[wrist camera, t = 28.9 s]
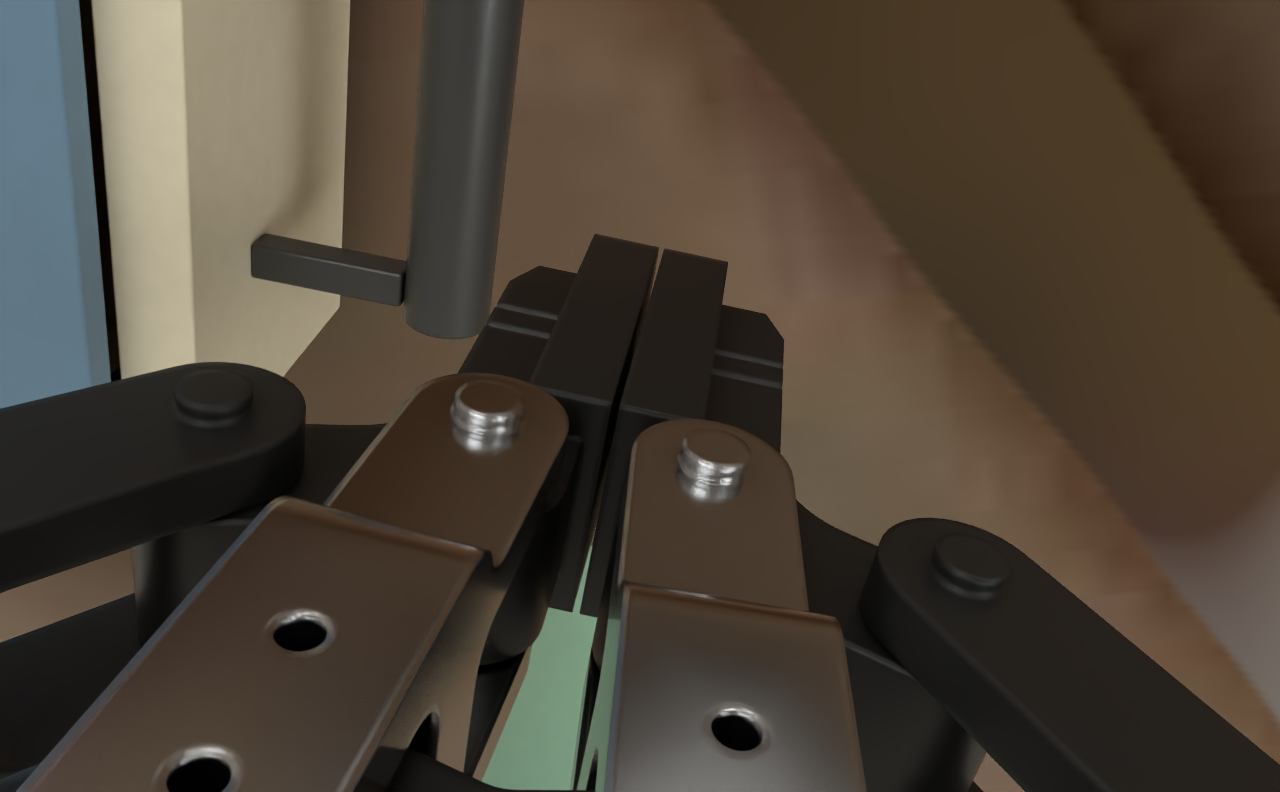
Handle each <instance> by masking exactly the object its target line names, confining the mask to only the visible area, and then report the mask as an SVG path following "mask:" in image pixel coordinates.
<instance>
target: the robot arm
mask: <svg viewBox="0 0 1280 792" xmlns="http://www.w3.org/2000/svg"><path fill="white" fill-rule="evenodd" d="M658 252H659V247H655V246H650V245H645V244H641V243H636V242H631V241H627V240H622V239H617V238H613V237H608V236H603V235H599V234H595V235H594V237H593V239H592V241H591V243H590V246H589V248H588V250H587V253H586V255H585V257H584V259H583V262H582V264H581V266H580V268H579V271H578V273H577V274H576V273H571V272H566V271H562V270H557V269H552V268H548V267H543V266H538V267H536V268H534V269H532V270H530V271H528V272H526V273H524V274H522V275H520V276H518V277H516V278H515V279H513V280H511V281H510V282H509V284H508V285H507V287H506V289H505V291H504V292H503V294H502V296H501V298H500V299H499V301H498V304H497V307H495V308H494V310H493V312H492V314H491V315H490V317H489V319H488V321H487V325H486V326H484V328H483V329H482V331H481V333H480V335H479V337H478V338H477V340H476V342H475V344H474V345H473V347H472V349H471V351H470V352H469V354H468V356H467V358H466V360H465V361H464V363H463V365H462V367H461V368H460V370H459V372H458V374H453V375H447V376H443V377H439V378H436V379H433V380H431V381H429V382H426V383H424V384H423V385H421V386H420V387H418V388H416V389H415V390H414V391H413V392H412V393H411V394H410V395H409V397H408V398H407V399H406V401H405V402H404V403H403V404H402V406H401V407H400V408H399V409H398V411H397V412H396V413H395V414H394V416H393V417H392V418H391V419H390V421H389V422H388V423H385V424H375V425H320V424H305V421H306V405H305V400H304V397H303V396H302V394H301V392H300V391H299V390H298V388H297V387H296V386H295V385H294V384H293V383H291V382H290V381H288V380H287V379H286V378H284V377H282V376H280V375H278V374H276V373H274V372H271V371H269V370H266V369H263V368H259V367H255V366H251V365H246V364H239V363H230V362H201V363H191V364H185V365H180V366H175V367H170V368H166V369H162V370H158V371H154V372H150V373H146V374H142V375H137V376H133V377H129V378H125V379H121V380H117V381H113V382H108V383H104V384H100V385H96V386H92V387H88V388H84V389H80V390H75V391H71V392H67V393H63V394H59V395H55V396H51V397H46V398H42V399H38V400H34V401H30V402H26V403H22V404H18V405H13V406H9V407H5V408H1V409H0V593H2V592H4V591H7V590H10V589H13V588H16V587H19V586H21V585H24V584H27V583H30V582H33V581H36V580H39V579H42V578H45V577H48V576H51V575H54V574H56V573H59V572H62V571H65V570H68V569H71V568H74V567H77V566H80V565H83V564H86V563H88V562H91V561H94V560H97V559H100V558H103V557H106V556H109V555H112V554H115V553H118V552H120V551H123V550H126V549H129V548H132V561H133V575H134V588H135V593H133V594H131V595H128V596H125V597H123V598H120V599H117V600H115V601H112V602H109V603H106V604H104V605H101V606H98V607H96V608H93V609H90V610H88V611H85V612H82V613H79V614H77V615H74V616H71V617H69V618H66V619H63V620H61V621H58V622H55V623H53V624H50V625H47V626H44V627H42V628H39V629H36V630H34V631H31V632H28V633H26V634H23V635H20V636H18V637H15V638H12V639H9V640H7V641H4V642H1V643H0V792H983V791H982V790H981V789H980V788H979V787H978V786H977V785H976V783H975V782H974V781H973V779H974V777H975V775H976V773H977V771H978V769H979V767H980V765H981V763H982V761H983V759H984V757H985V754H986V752H987V753H988V754H989V755H990V756H991V757H992V758H993V759H994V760H995V761H996V762H997V763H998V764H999V765H1000V766H1001V767H1002V768H1003V769H1004V770H1005V771H1006V772H1007V773H1008V774H1009V775H1010V776H1011V777H1012V778H1013V779H1014V780H1015V781H1016V783H1017V784H1018V785H1019V786H1020V787H1021V788H1022V789H1023V790H1024V791H1025V792H1280V765H1279V764H1278V763H1277V762H1275V761H1274V760H1273V759H1272V758H1271V757H1269V756H1268V755H1267V754H1266V753H1265V752H1263V751H1262V750H1261V749H1260V748H1259V747H1257V746H1256V745H1255V744H1254V743H1253V742H1251V741H1250V740H1249V739H1248V738H1246V737H1245V736H1244V735H1243V734H1242V733H1240V732H1239V731H1238V730H1237V729H1236V728H1234V727H1233V726H1232V725H1231V724H1230V723H1228V722H1227V721H1226V720H1225V719H1224V718H1222V717H1221V716H1220V715H1219V714H1217V713H1216V712H1215V711H1214V710H1213V709H1211V708H1210V707H1209V706H1208V705H1207V704H1205V703H1204V702H1203V701H1202V700H1201V699H1199V698H1198V697H1197V696H1196V695H1195V694H1193V693H1192V692H1191V691H1190V690H1188V689H1187V688H1186V687H1185V686H1184V685H1182V684H1181V683H1180V682H1179V681H1178V680H1176V679H1175V678H1174V677H1173V676H1172V675H1170V674H1169V673H1168V672H1167V671H1166V670H1164V669H1163V668H1162V667H1161V666H1159V665H1158V664H1157V663H1156V662H1155V661H1153V660H1152V659H1151V658H1150V657H1149V656H1147V655H1146V654H1145V653H1144V652H1143V651H1141V650H1140V649H1139V648H1138V647H1137V646H1135V645H1134V644H1133V643H1132V642H1130V641H1129V640H1128V639H1127V638H1126V637H1124V636H1123V635H1122V634H1121V633H1120V632H1118V631H1117V630H1116V629H1115V628H1114V627H1112V626H1111V625H1110V624H1109V623H1108V622H1106V621H1105V620H1104V619H1103V618H1101V617H1100V616H1099V615H1098V614H1097V613H1095V612H1094V611H1093V610H1092V609H1091V608H1089V607H1088V606H1087V605H1086V604H1085V603H1083V602H1082V601H1081V600H1080V599H1078V598H1077V597H1076V596H1075V595H1074V594H1072V593H1071V592H1070V591H1069V590H1068V589H1066V588H1065V587H1064V586H1063V585H1062V584H1060V583H1059V582H1058V581H1057V580H1056V579H1054V578H1053V577H1052V576H1051V575H1049V574H1048V573H1047V572H1046V571H1045V570H1043V569H1042V568H1041V567H1040V566H1039V565H1037V564H1036V563H1035V562H1034V561H1033V560H1031V559H1030V558H1029V557H1028V556H1027V555H1025V554H1024V553H1023V552H1021V551H1020V550H1019V549H1017V548H1016V547H1015V546H1013V545H1011V544H1010V543H1008V542H1006V541H1005V540H1003V539H1002V538H1000V537H998V536H996V535H994V534H992V533H989V532H987V531H985V530H982V529H980V528H977V527H975V526H972V525H968V524H965V523H961V522H958V521H952V520H947V519H938V518H917V519H911V520H906V521H903V522H901V523H898V524H896V525H894V526H893V527H891V528H889V529H888V530H887V531H886V533H885V534H884V535H883V536H882V539H881V541H880V543H879V546H875V545H873V544H871V543H868V542H866V541H864V540H861V539H859V538H857V537H855V536H852V535H850V534H848V533H845V532H843V531H841V530H839V529H837V528H835V527H833V526H831V525H829V524H828V523H826V522H824V521H823V520H821V519H819V518H818V517H816V516H815V515H814V514H812V513H811V512H810V511H808V510H807V509H806V508H805V507H804V506H803V505H802V504H800V503H799V502H798V501H797V500H796V496H795V487H794V479H793V475H792V471H791V469H790V467H789V465H788V463H787V461H786V460H785V459H784V458H783V456H782V455H781V454H780V445H781V414H782V384H783V369H782V367H783V353H784V339H783V337H782V336H781V335H780V333H779V332H778V330H777V329H776V328H775V326H774V325H773V323H772V322H771V321H770V319H769V318H768V316H767V315H766V314H763V313H758V312H754V311H749V310H744V309H740V308H735V307H730V306H726V305H722V300H723V293H724V287H725V280H726V273H727V267H728V262H726V261H721V260H716V259H712V258H707V257H702V256H698V255H693V254H688V253H684V252H679V251H674V250H670V249H664V252H663V255H662V259H661V262H660V266H659V269H658V273H657V276H656V280H655V283H654V287H653V290H652V294H651V289H652V284H653V279H654V274H655V269H656V264H657V258H658ZM650 294H651V297H650ZM649 300H650V301H649ZM596 523H597V525H596ZM595 527H596V530H595ZM594 531H595V535H594V541H593V546H592V551H591V556H590V561H589V566H588V572H587V577H586V582H585V587H584V592H583V597H582V603H581V608H580V613H579V614H582V615H587V616H591V617H596V618H597V622H596V627H595V632H594V637H593V643H592V647H591V652H590V657H589V661H588V666H587V671H586V676H585V681H584V686H583V693H582V701H581V708H580V716H579V723H578V731H577V739H576V746H575V754H574V761H573V769H572V777H571V784H570V790H513V789H503V788H499V787H494V786H492V785H489V784H486V783H484V782H482V779H483V777H484V774H485V772H486V770H487V767H488V765H489V762H490V760H491V758H492V755H493V753H494V750H495V748H496V746H497V743H498V741H499V738H500V736H501V734H502V731H503V729H504V726H505V724H506V722H507V719H508V717H509V714H510V712H511V710H512V707H513V705H514V702H515V700H516V698H517V695H518V693H519V690H520V688H521V686H522V683H523V681H524V678H525V676H526V674H527V670H528V667H529V662H530V656H531V650H532V644H533V643H534V641H535V640H536V639H537V637H538V636H539V634H540V632H541V630H542V627H543V624H544V620H545V617H546V614H547V611H548V607H549V608H553V609H558V610H563V611H567V612H573V608H574V604H575V601H576V597H577V593H578V590H579V586H580V582H581V579H582V575H583V571H584V568H585V564H586V560H587V557H588V553H589V549H590V545H591V542H592V538H593V534H594Z"/></svg>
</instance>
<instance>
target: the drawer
mask: <svg viewBox="0 0 1280 792" xmlns="http://www.w3.org/2000/svg"><path fill="white" fill-rule="evenodd" d="M79 6H80V18H81V30H82V42H83V54H84V66H85V78H86V89H87V101H88V113H89V125H90V137H91V149H92V161H93V173H94V184H95V196H96V208H97V220H98V232H99V244H100V256H101V268H102V279H103V291H104V303H105V315H106V327H107V339H108V351H109V363H110V374H112V373H113V372H114V371H115V370H116V369H117V368H118V367H119V366H120V374H121V379H125V378H129V377H133V376H137V375H142V374H146V373H150V372H154V371H158V370H162V369H166V368H170V367H175V366H180V365H185V364H191V363H201V362H230V363H239V364H246V365H251V366H255V367H259V368H263V369H266V370H269V371H271V372H274V373H276V374H278V375H280V376H282V377H283V376H284V375H285V374H286V373H287V371H288V370H289V369H290V368H291V366H292V365H293V364H294V363H295V361H296V360H297V359H298V358H299V357H300V355H301V354H302V353H303V352H304V350H305V349H306V348H307V347H308V345H309V344H310V343H311V342H312V340H313V339H314V338H315V337H316V336H317V334H318V333H319V332H320V331H321V329H322V328H323V327H324V326H325V324H326V323H327V322H328V321H329V319H330V318H331V317H332V316H333V315H334V313H335V312H336V311H337V310H338V308H339V307H340V295H343V296H348V297H353V298H358V299H363V300H368V301H372V302H377V303H382V304H387V305H392V306H400V305H401V304H402V303H403V301H404V310H403V316H404V319H405V321H406V323H407V324H408V325H409V326H410V327H411V328H413V329H414V330H416V331H418V332H420V333H422V334H425V335H428V336H432V337H437V338H443V339H462V338H468V337H472V336H475V335H477V334H480V333H481V331H482V329H483V328H484V326H486V325H487V321H488V319H489V315H490V306H491V297H492V288H493V279H494V270H495V261H496V252H497V243H498V234H499V225H500V216H501V207H502V198H503V189H504V179H505V170H506V161H507V152H508V143H509V134H510V125H511V116H512V107H513V98H514V89H515V80H516V71H517V62H518V53H519V44H520V35H521V26H522V17H523V7H524V0H424V10H423V25H422V40H421V55H420V70H419V85H418V100H417V115H416V130H415V145H414V160H413V175H412V190H411V205H410V220H409V235H408V250H407V261H403V260H398V259H393V258H388V257H383V256H378V255H373V254H368V253H363V252H358V251H353V250H348V249H343V248H342V226H343V197H344V168H345V139H346V110H347V81H348V52H349V22H350V0H79Z"/></svg>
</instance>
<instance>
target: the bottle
mask: <svg viewBox="0 0 1280 792" xmlns="http://www.w3.org/2000/svg"><path fill="white" fill-rule="evenodd" d="M591 551H592V545H590V549H589V553H588V557H587V560H586V564H585V568H584V571H583V575H582V579H581V582H580V586H579V590H578V593H577V597H576V601H575V604H574V608H573V612H567V611H563V610H558V609H553V608H549V607H548V611H547V614H546V617H545V620H544V624H543V627H542V630H541V632H540V634H539V636H538V637H537V639H536V640H535V641H534V643H533V644H532V650H531V656H530V662H529V667H528V670H527V674H526V676H525V678H524V681H523V683H522V686H521V688H520V690H519V693H518V695H517V698H516V700H515V702H514V705H513V707H512V710H511V712H510V714H509V717H508V719H507V722H506V724H505V726H504V729H503V731H502V734H501V736H500V738H499V741H498V743H497V746H496V748H495V750H494V753H493V755H492V758H491V760H490V762H489V765H488V767H487V770H486V772H485V774H484V777H483V779H482V782H484V783H486V784H489V785H492V786H494V787H499V788H503V789H513V790H570V784H571V777H572V769H573V761H574V754H575V746H576V739H577V731H578V723H579V716H580V708H581V701H582V693H583V686H584V681H585V676H586V671H587V666H588V661H589V657H590V652H591V647H592V643H593V637H594V632H595V627H596V622H597V618H596V617H591V616H587V615H582V614H579V613H580V608H581V603H582V597H583V592H584V587H585V582H586V577H587V572H588V566H589V561H590V556H591Z"/></svg>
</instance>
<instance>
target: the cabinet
mask: <svg viewBox="0 0 1280 792" xmlns="http://www.w3.org/2000/svg"><path fill="white" fill-rule="evenodd" d="M117 380H121V374H120V366H119V367H118V368H117V369H116V370H115V371H114V372H113V373H112V374H110V363H109V351H108V339H107V327H106V315H105V303H104V291H103V279H102V268H101V256H100V244H99V232H98V220H97V208H96V196H95V184H94V173H93V161H92V149H91V137H90V125H89V113H88V101H87V89H86V78H85V66H84V54H83V42H82V30H81V18H80V6H79V0H0V409H1V408H5V407H9V406H13V405H18V404H22V403H26V402H30V401H34V400H38V399H42V398H46V397H51V396H55V395H59V394H63V393H67V392H71V391H75V390H80V389H84V388H88V387H92V386H96V385H100V384H104V383H108V382H113V381H117Z"/></svg>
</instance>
